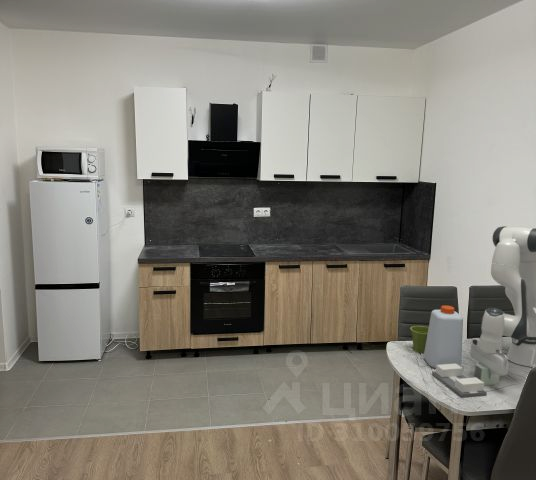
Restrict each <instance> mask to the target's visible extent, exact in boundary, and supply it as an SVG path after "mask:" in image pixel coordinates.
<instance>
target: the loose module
mask: <svg viewBox="0 0 536 480" xmlns="http://www.w3.org/2000/svg"><path fill="white" fill-rule="evenodd" d="M491 373H492V372H491V369H489V368H488V367H486V366H484V365H483V364H478V363H475V368H474V376H473V378H478V379H479V380H481V381H482V382H484V386H490V385H491V386H493V385H494V386H495V385H499V383H500V382H499V381H500V375H498V374H496V375H495V378H494V380H491V379H490V378H489V374H491Z"/></svg>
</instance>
